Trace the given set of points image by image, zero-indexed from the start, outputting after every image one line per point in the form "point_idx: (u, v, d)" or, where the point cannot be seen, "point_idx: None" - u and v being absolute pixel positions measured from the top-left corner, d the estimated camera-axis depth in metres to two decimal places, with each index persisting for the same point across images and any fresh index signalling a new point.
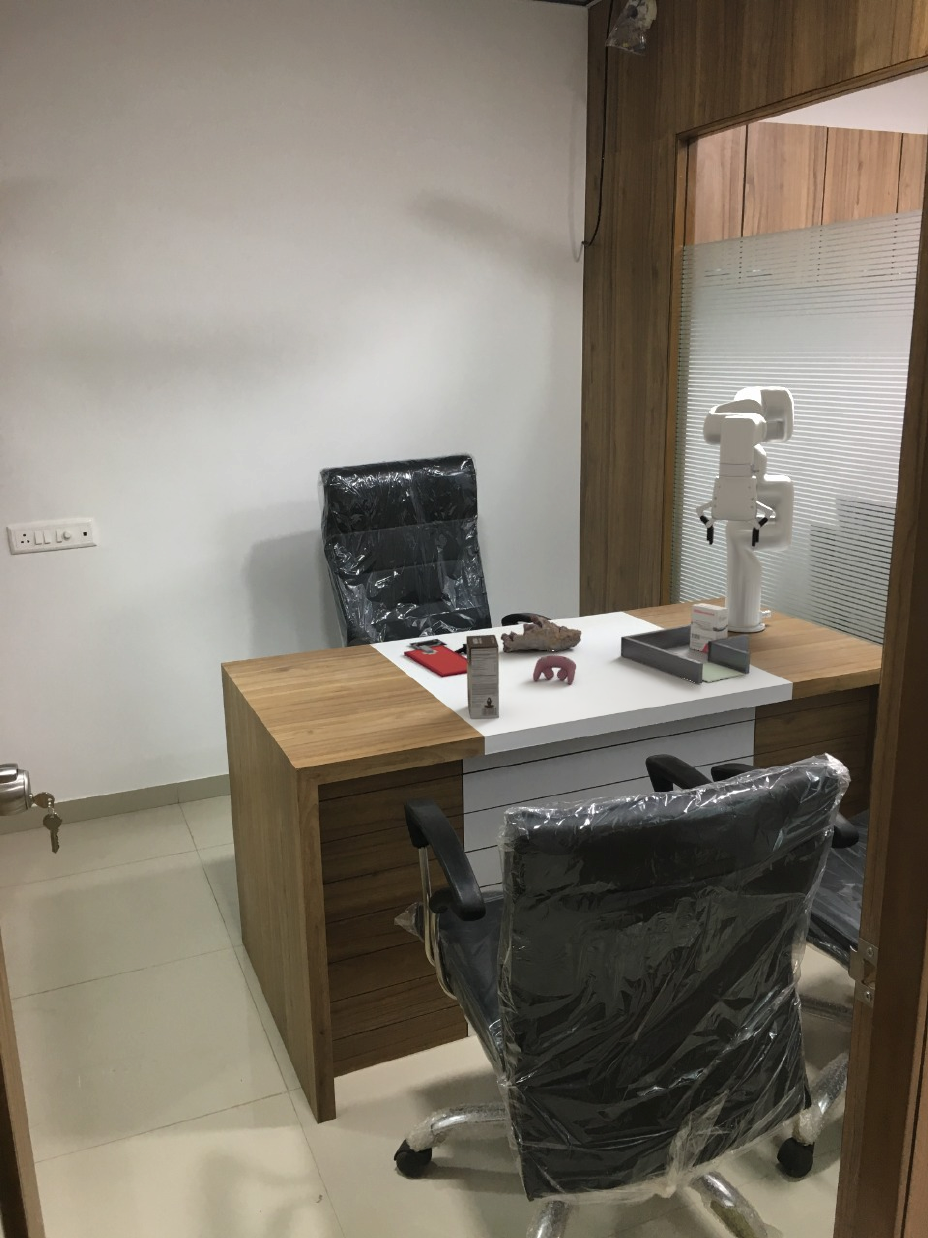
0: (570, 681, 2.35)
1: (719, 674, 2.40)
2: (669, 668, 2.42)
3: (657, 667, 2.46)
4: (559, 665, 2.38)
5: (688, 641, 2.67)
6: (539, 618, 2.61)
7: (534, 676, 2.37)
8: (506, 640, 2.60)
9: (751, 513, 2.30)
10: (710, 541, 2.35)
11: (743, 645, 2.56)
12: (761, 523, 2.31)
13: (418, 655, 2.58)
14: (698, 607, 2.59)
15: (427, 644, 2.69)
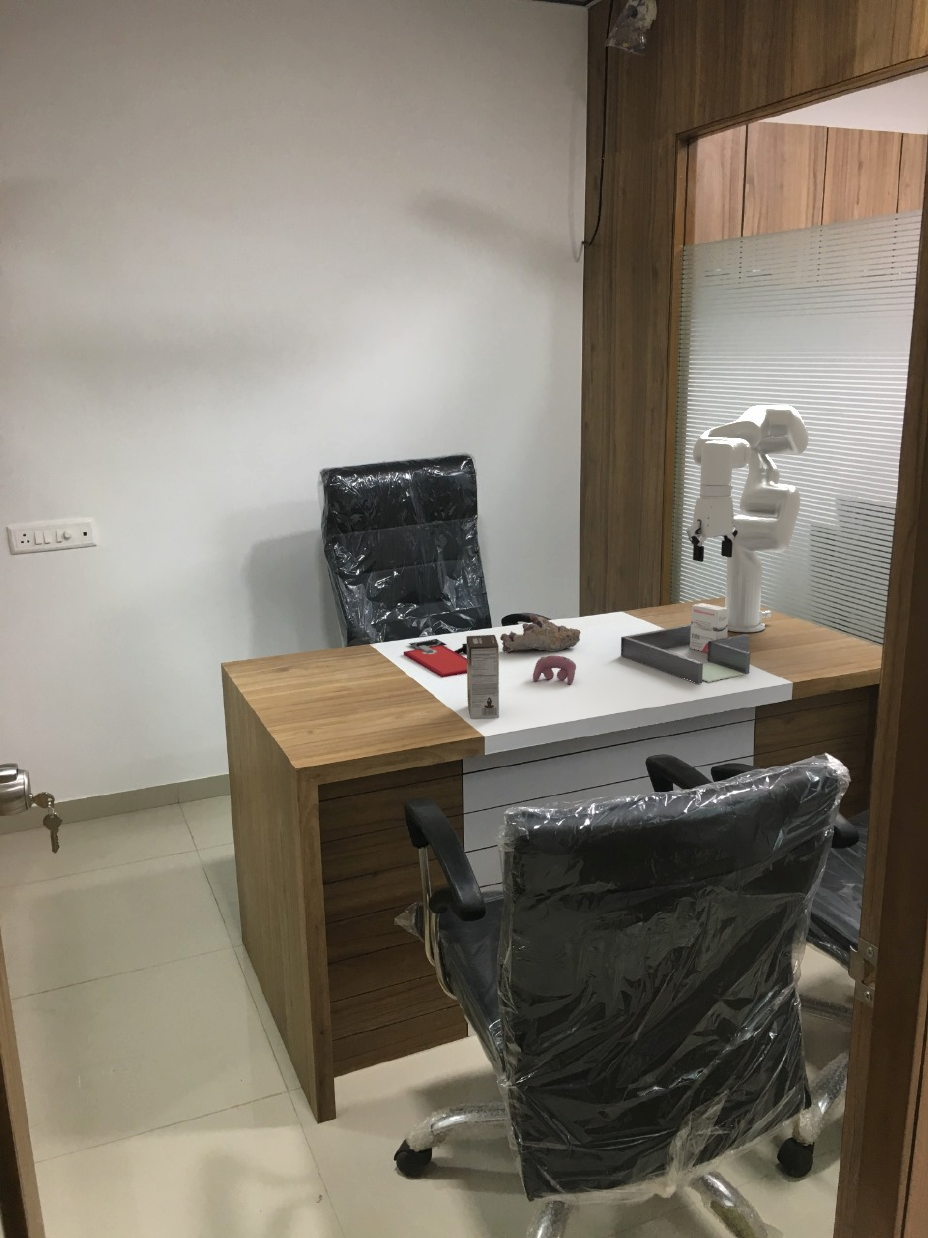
0: (570, 681, 2.35)
1: (719, 674, 2.40)
2: (669, 668, 2.42)
3: (657, 667, 2.46)
4: (559, 665, 2.37)
5: (688, 641, 2.67)
6: (539, 618, 2.62)
7: (534, 676, 2.37)
8: (506, 640, 2.60)
9: (731, 528, 2.54)
10: (702, 558, 2.52)
11: (743, 645, 2.56)
12: (733, 535, 2.57)
13: (418, 655, 2.58)
14: (698, 607, 2.59)
15: (427, 644, 2.69)
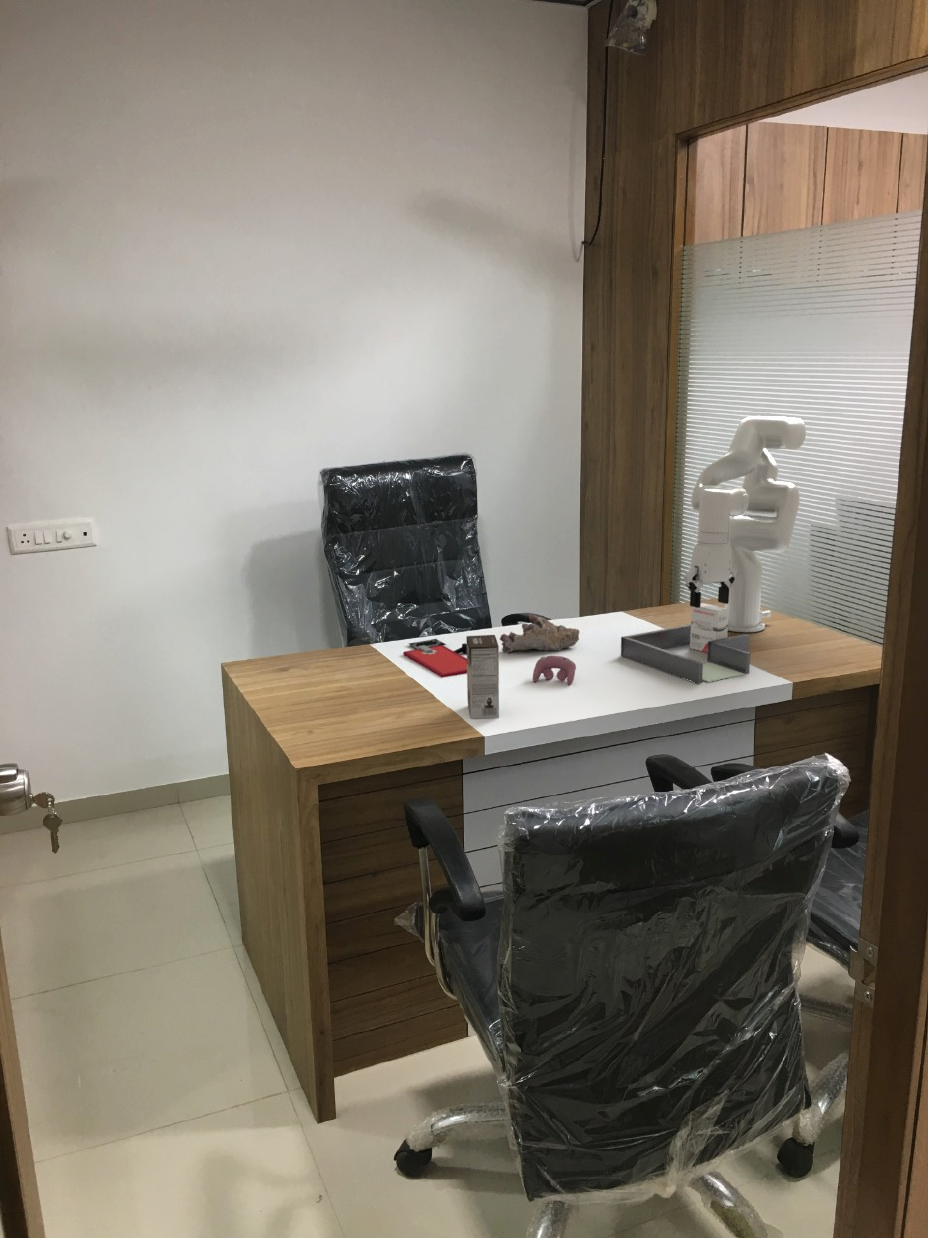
0: (570, 681, 2.34)
1: (719, 674, 2.40)
2: (669, 668, 2.42)
3: (657, 667, 2.46)
4: (559, 665, 2.37)
5: (688, 641, 2.67)
6: (538, 618, 2.62)
7: (534, 676, 2.37)
8: (506, 641, 2.59)
9: (728, 574, 2.56)
10: (699, 604, 2.54)
11: (743, 645, 2.56)
12: (730, 582, 2.59)
13: (417, 655, 2.58)
14: None
15: (426, 644, 2.69)
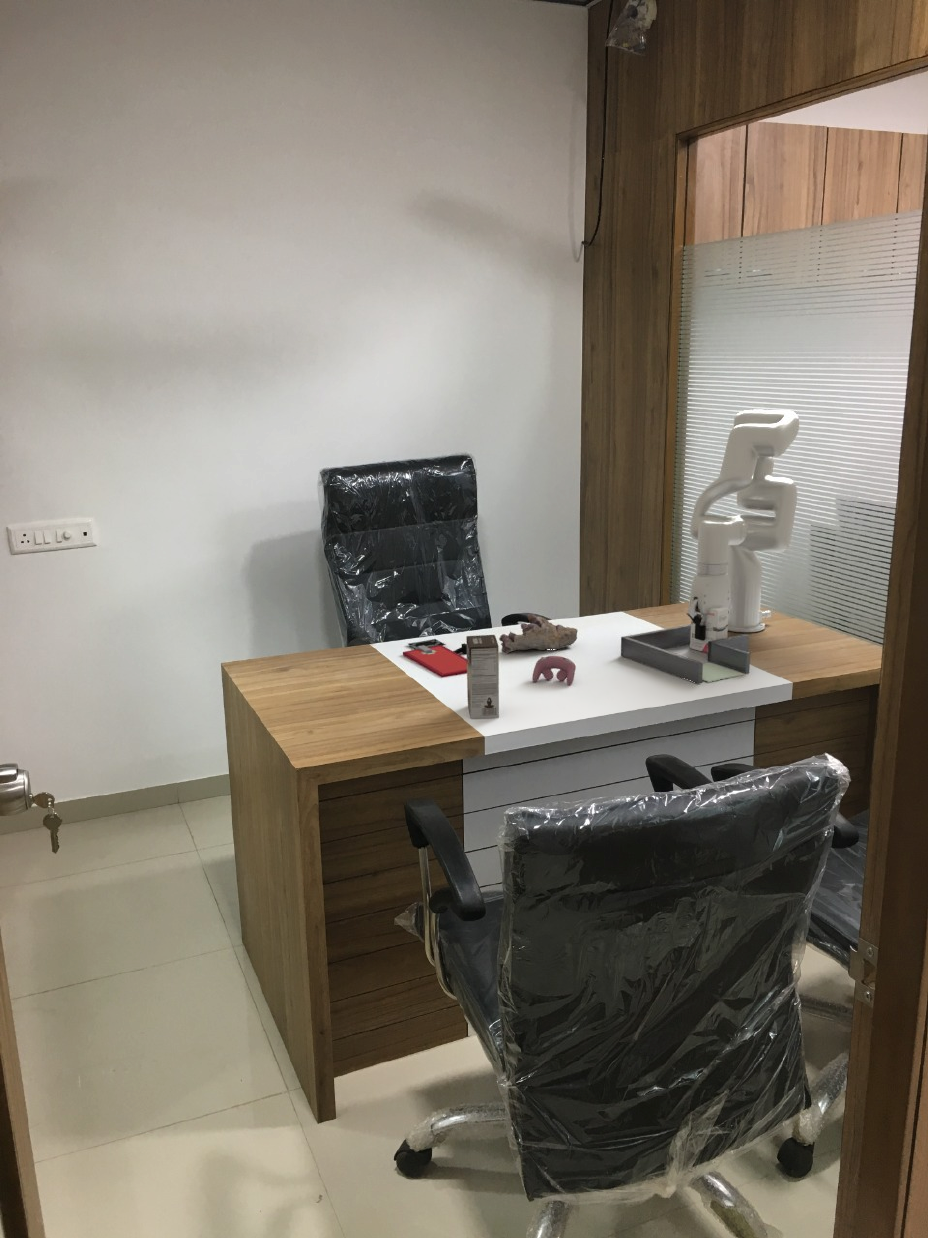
0: (570, 682, 2.34)
1: (719, 674, 2.40)
2: (669, 668, 2.42)
3: (657, 667, 2.46)
4: (558, 666, 2.37)
5: (688, 641, 2.67)
6: (537, 618, 2.62)
7: (533, 677, 2.37)
8: (506, 641, 2.59)
9: (727, 604, 2.59)
10: (704, 637, 2.58)
11: (743, 645, 2.56)
12: None
13: (417, 655, 2.58)
14: None
15: (425, 644, 2.69)
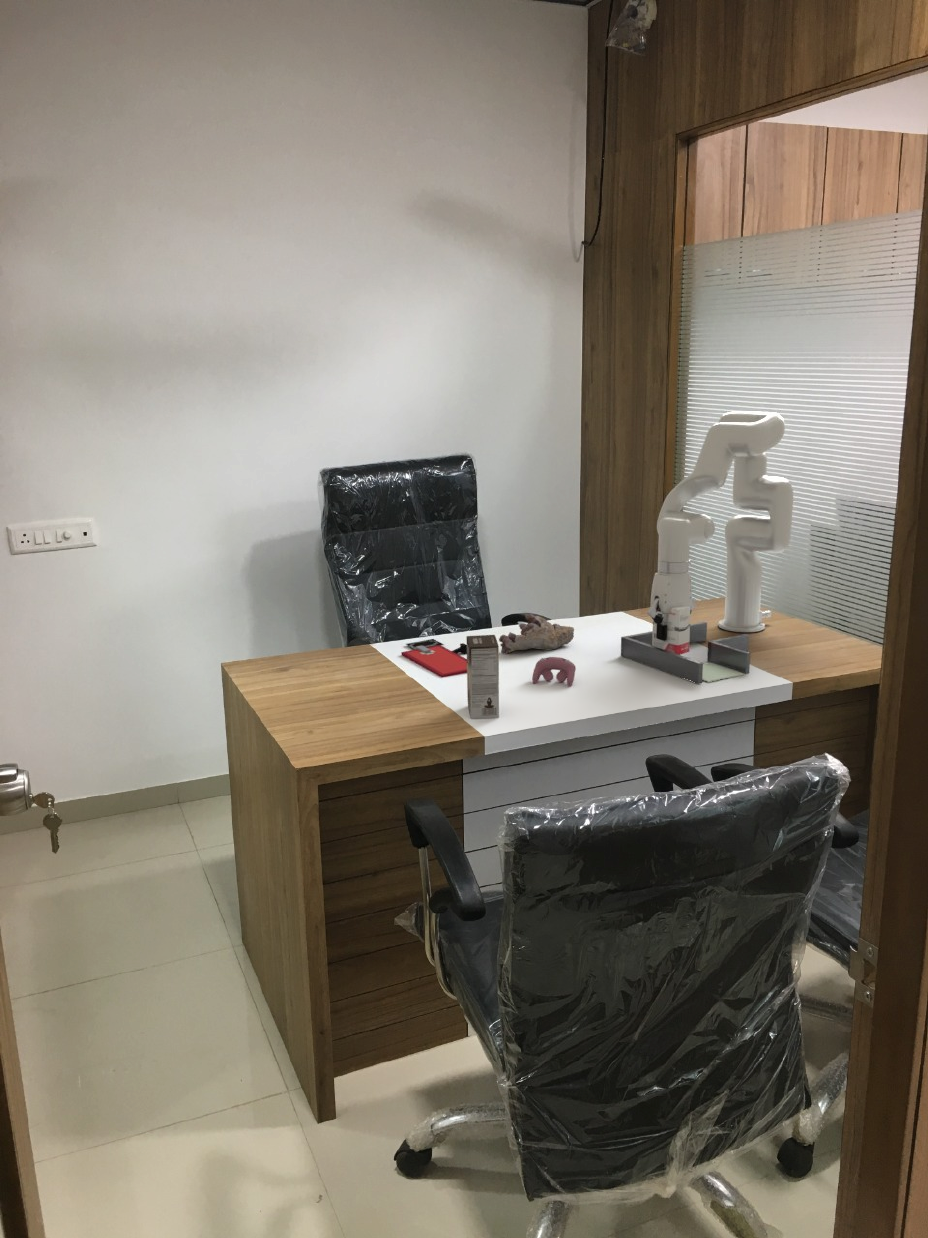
0: (570, 683, 2.33)
1: (719, 674, 2.40)
2: (669, 668, 2.42)
3: (657, 667, 2.46)
4: (558, 667, 2.36)
5: None
6: (536, 617, 2.62)
7: (533, 678, 2.36)
8: (507, 641, 2.59)
9: (689, 603, 2.52)
10: (665, 637, 2.51)
11: (743, 645, 2.56)
12: None
13: (416, 655, 2.58)
14: None
15: (424, 644, 2.69)
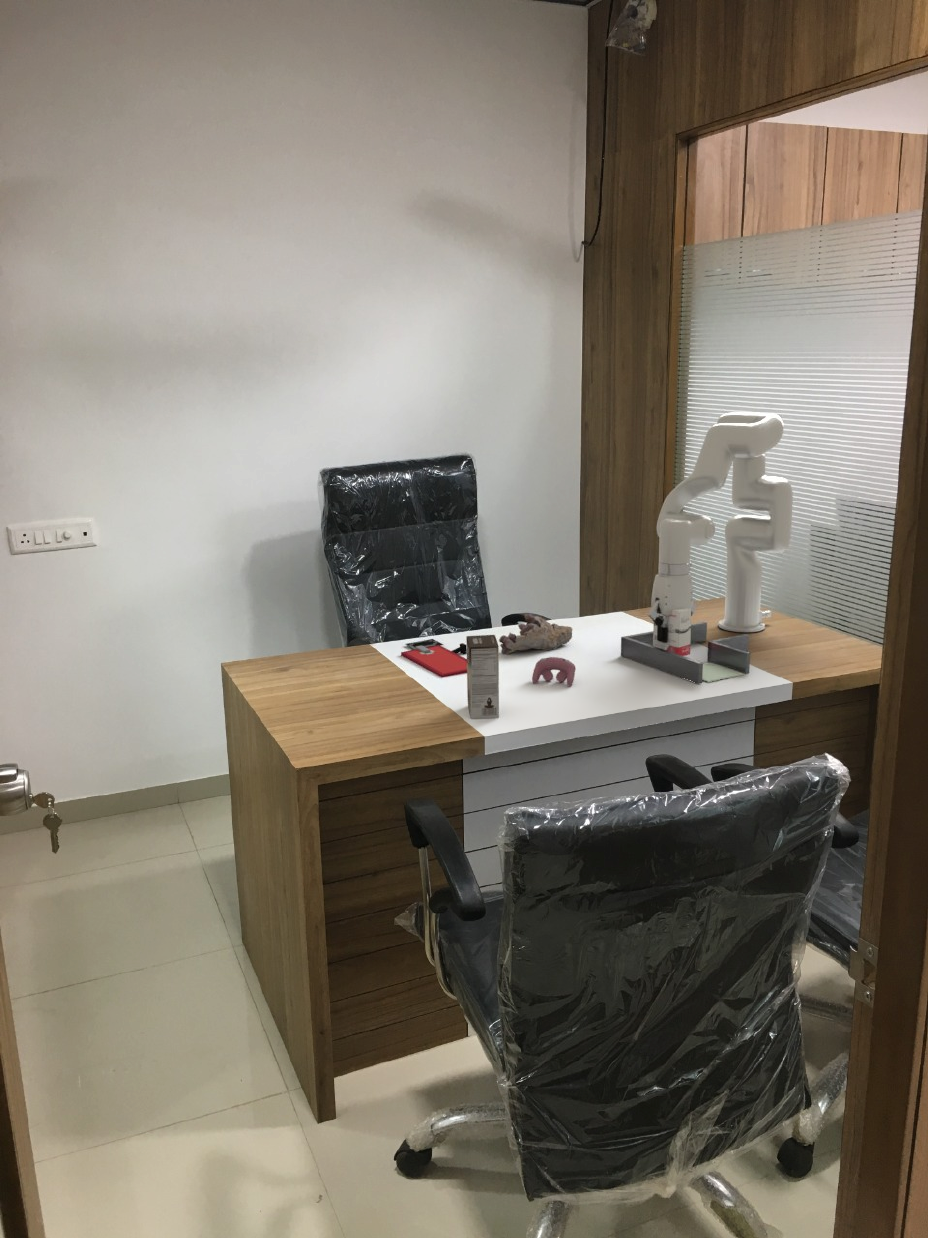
0: (570, 683, 2.33)
1: (719, 674, 2.40)
2: (669, 668, 2.42)
3: (657, 667, 2.46)
4: (558, 667, 2.36)
5: None
6: (535, 617, 2.62)
7: (533, 678, 2.36)
8: (508, 642, 2.58)
9: (690, 605, 2.50)
10: (666, 639, 2.49)
11: (743, 645, 2.56)
12: None
13: (415, 655, 2.58)
14: None
15: (423, 644, 2.69)
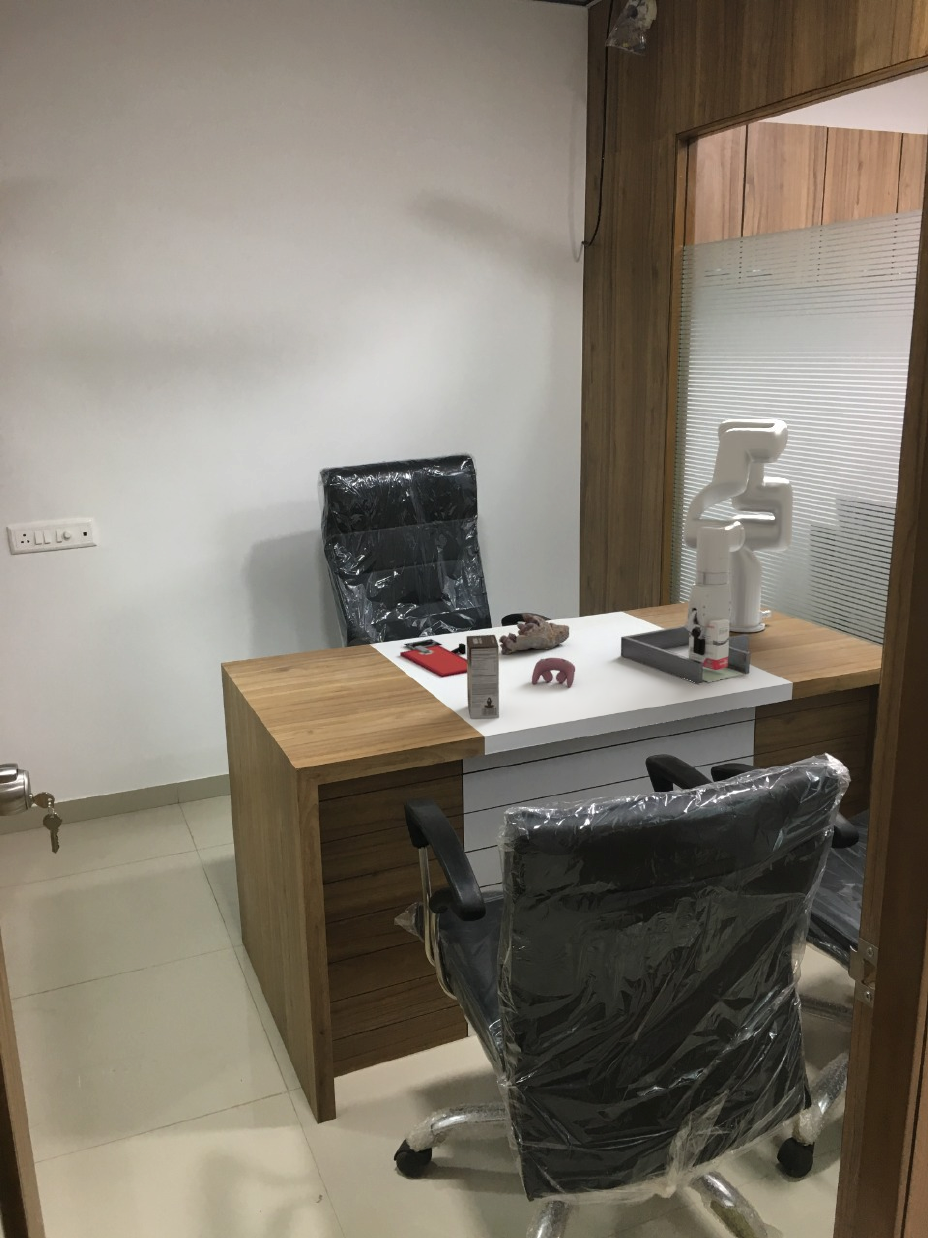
0: (569, 684, 2.33)
1: (719, 674, 2.40)
2: (669, 668, 2.42)
3: (657, 667, 2.46)
4: (558, 668, 2.35)
5: (688, 641, 2.67)
6: (534, 617, 2.63)
7: (533, 679, 2.35)
8: (508, 642, 2.58)
9: (728, 615, 2.40)
10: (703, 651, 2.38)
11: (743, 645, 2.56)
12: None
13: (415, 656, 2.58)
14: None
15: (422, 644, 2.69)
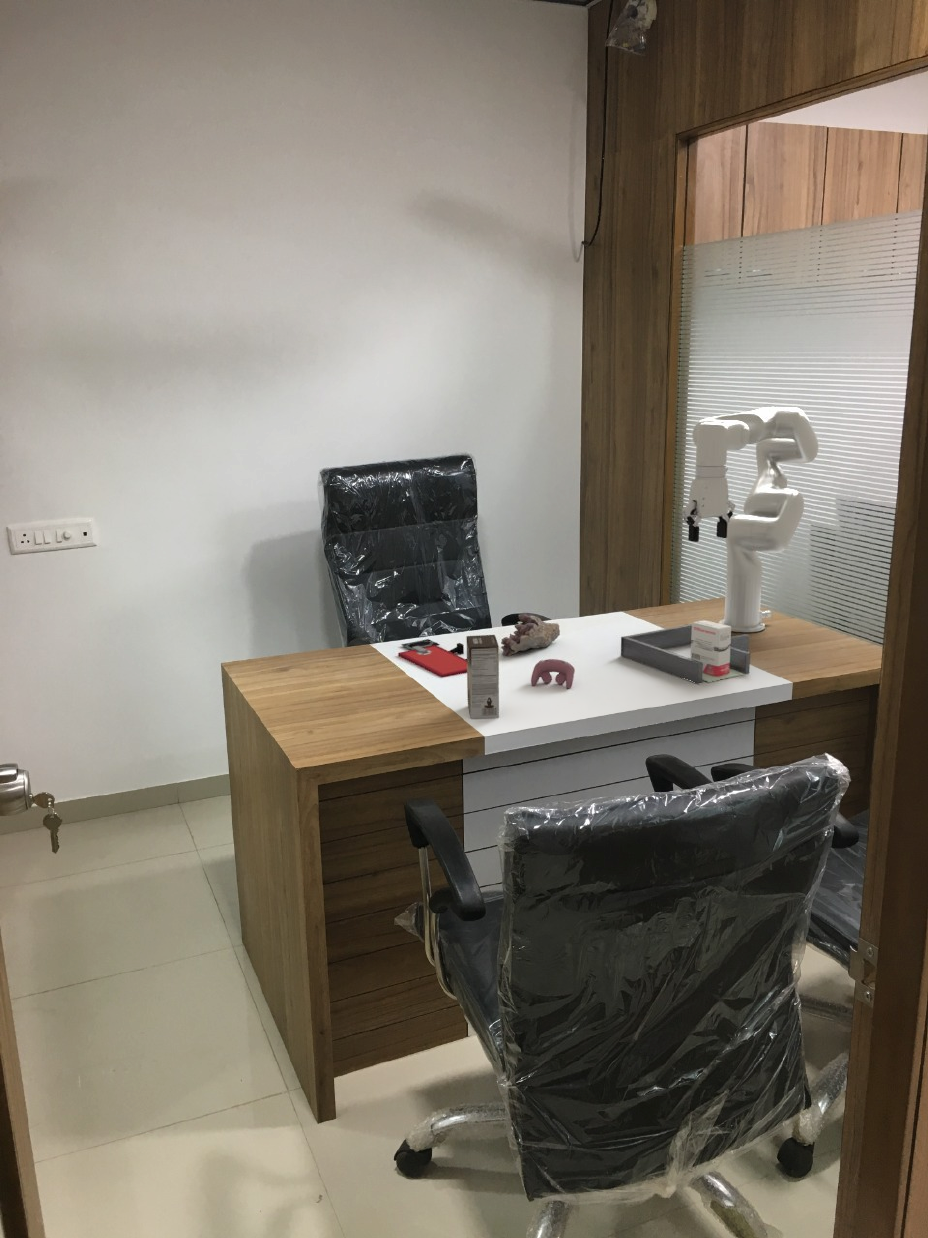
0: (569, 685, 2.32)
1: None
2: (669, 668, 2.42)
3: (657, 667, 2.46)
4: (557, 669, 2.34)
5: (688, 641, 2.67)
6: (531, 617, 2.63)
7: (532, 680, 2.34)
8: (512, 643, 2.57)
9: (726, 508, 2.57)
10: (697, 538, 2.55)
11: (743, 645, 2.56)
12: (728, 516, 2.60)
13: (413, 656, 2.57)
14: (698, 625, 2.39)
15: (419, 644, 2.68)
